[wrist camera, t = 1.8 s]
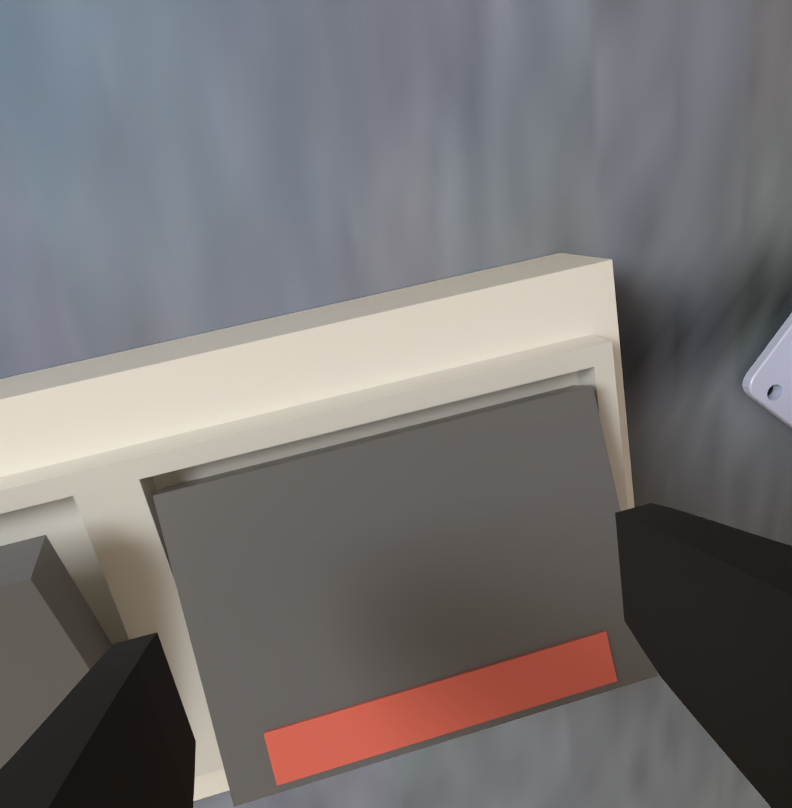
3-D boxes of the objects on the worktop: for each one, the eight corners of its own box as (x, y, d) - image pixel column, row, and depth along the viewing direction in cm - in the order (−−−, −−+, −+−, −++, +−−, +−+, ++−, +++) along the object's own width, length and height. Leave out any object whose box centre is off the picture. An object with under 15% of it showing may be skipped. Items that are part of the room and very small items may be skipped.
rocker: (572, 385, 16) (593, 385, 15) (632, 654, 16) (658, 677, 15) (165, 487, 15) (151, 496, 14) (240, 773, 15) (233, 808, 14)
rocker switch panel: (560, 252, 18) (633, 262, 15) (600, 604, 22) (668, 684, 18) (-408, 470, 16) (-626, 552, 12) (-177, 831, 19) (-287, 981, 16)
